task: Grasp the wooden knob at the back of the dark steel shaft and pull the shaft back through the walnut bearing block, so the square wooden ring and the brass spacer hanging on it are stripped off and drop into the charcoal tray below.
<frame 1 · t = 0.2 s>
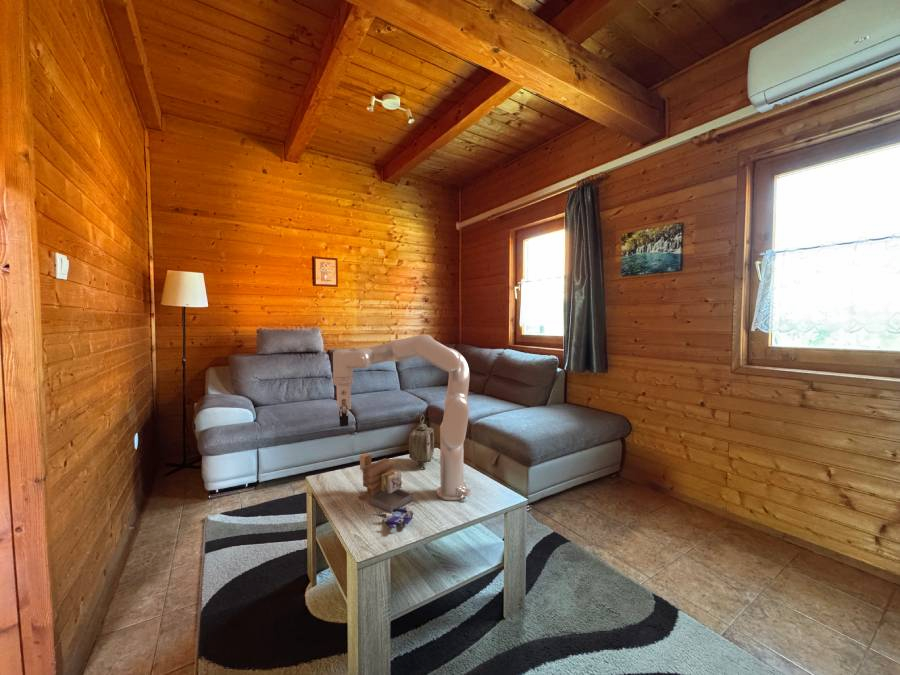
hand: (343, 422, 147), 30 cm above the table, tool pointing down, fingers open, 9 cm apart
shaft: (380, 469, 146), point 12 cm above the table, slide at 0.0 cm, touching brass spacer, square wooden ring
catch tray: (391, 502, 143), on the table
old lantern: (421, 465, 180), on the table
square wooden ring: (394, 489, 142), point 5 cm above the table, touching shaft
bearing block: (379, 496, 148), on the table
brass spacer: (388, 487, 144), point 5 cm above the table, touching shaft
toy airplane: (394, 524, 128), on the table
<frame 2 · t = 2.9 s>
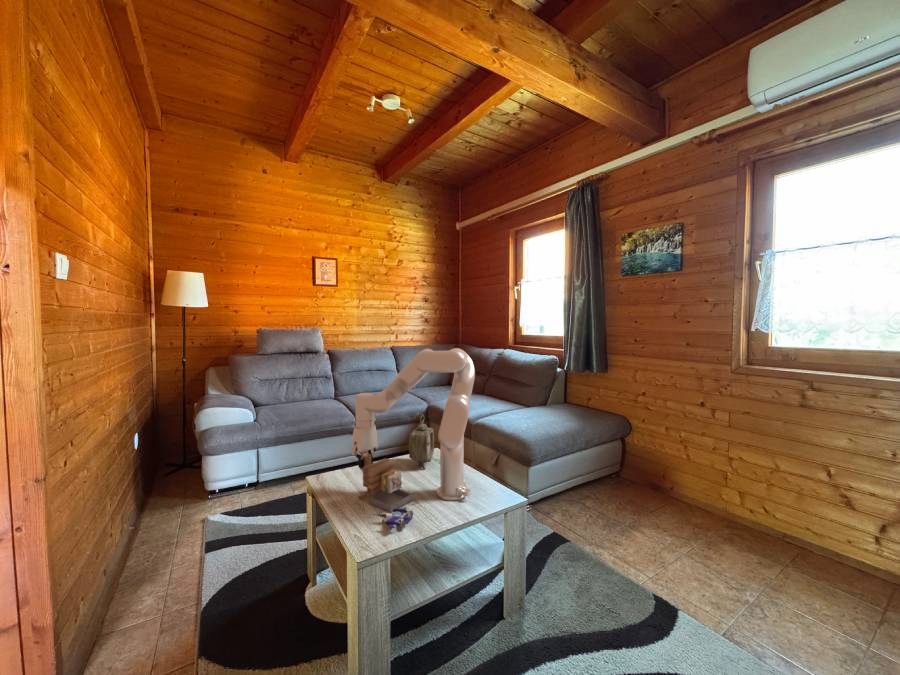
hand: (365, 466, 152), 11 cm above the table, tool pointing down, fingers closed on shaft, 3 cm apart
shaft: (380, 469, 146), point 12 cm above the table, slide at 0.0 cm, touching brass spacer, gripper, square wooden ring
everything else where it was.
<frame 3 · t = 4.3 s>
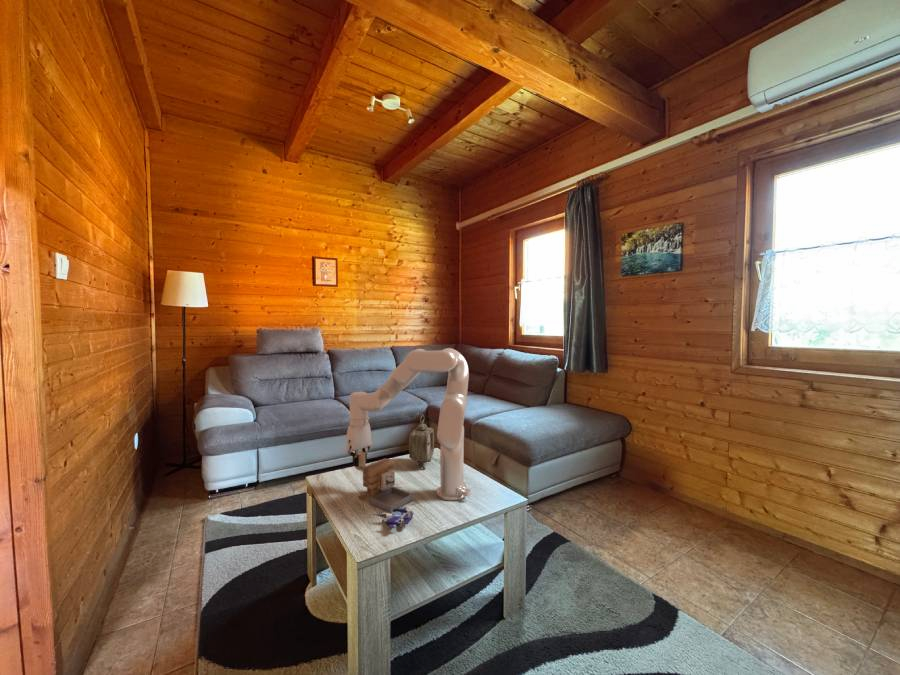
hand: (359, 463, 154), 11 cm above the table, tool pointing down, fingers closed on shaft, 3 cm apart
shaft: (374, 466, 148), point 12 cm above the table, slide at 3.8 cm, touching brass spacer, gripper, square wooden ring
square wooden ring: (387, 487, 144), point 5 cm above the table, touching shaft
brass spacer: (384, 485, 145), point 5 cm above the table, touching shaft
everything else where it was.
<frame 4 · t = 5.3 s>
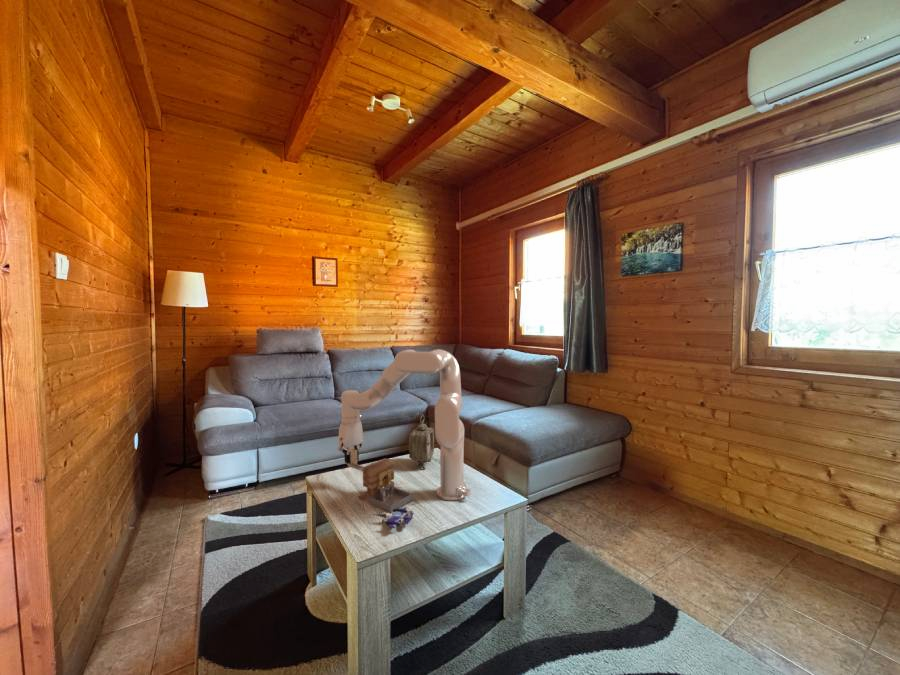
hand: (351, 460, 157), 11 cm above the table, tool pointing down, fingers closed on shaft, 3 cm apart
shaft: (365, 463, 152), point 12 cm above the table, slide at 9.2 cm, touching brass spacer, gripper
square wooden ring: (387, 498, 144), point 1 cm above the table, touching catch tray
everything else where it was.
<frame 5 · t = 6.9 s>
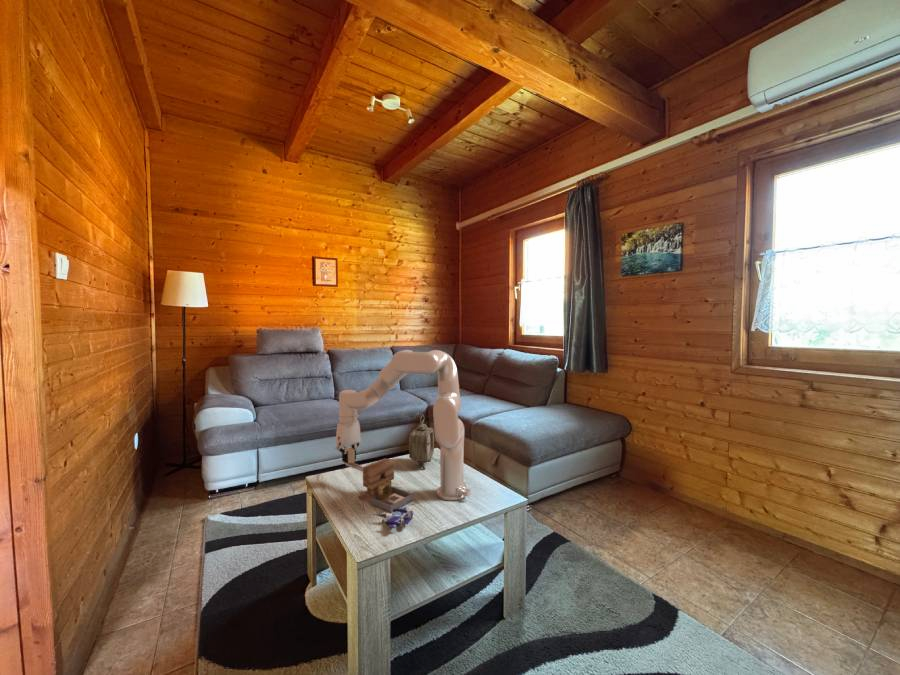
hand: (349, 460, 159), 11 cm above the table, tool pointing down, fingers closed on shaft, 3 cm apart
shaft: (363, 462, 153), point 12 cm above the table, slide at 10.9 cm, touching gripper
square wooden ring: (388, 497, 144), point 1 cm above the table, tilted 90°, touching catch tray
brass spacer: (384, 497, 146), point 1 cm above the table, touching bearing block, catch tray
everything else where it was.
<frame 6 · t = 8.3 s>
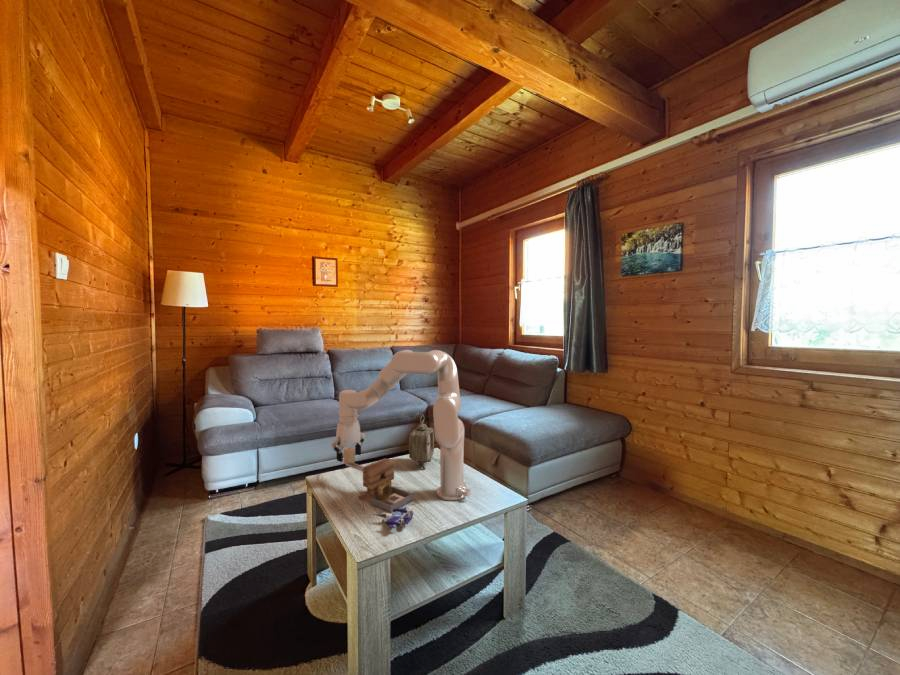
hand: (349, 457, 158), 12 cm above the table, tool pointing down, fingers open, 9 cm apart
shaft: (363, 462, 153), point 12 cm above the table, slide at 10.9 cm
everything else where it was.
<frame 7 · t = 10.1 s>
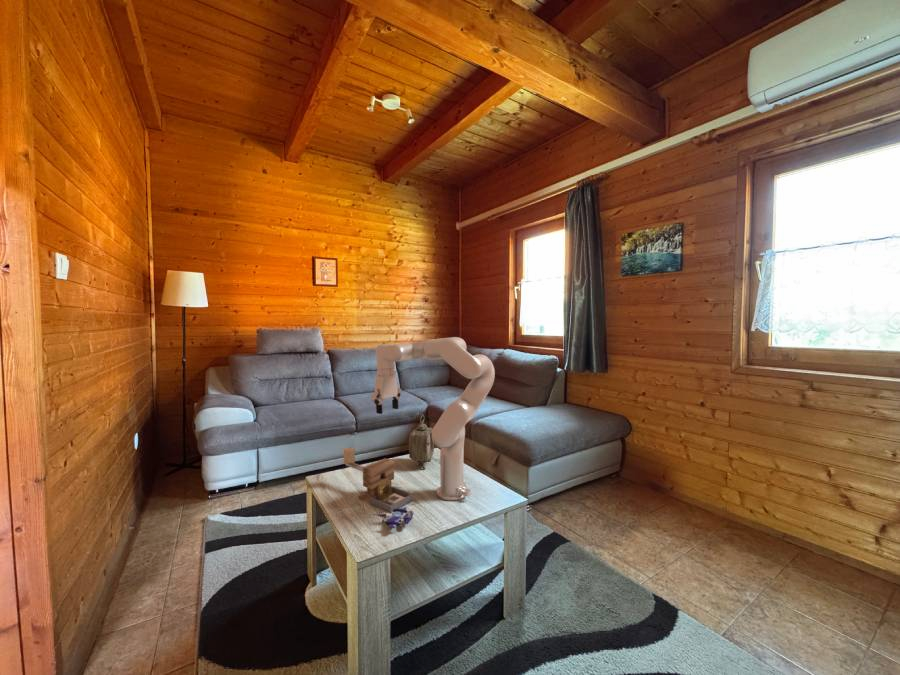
hand: (387, 411, 160), 32 cm above the table, tool pointing down, fingers open, 9 cm apart
nothing on the table moved.
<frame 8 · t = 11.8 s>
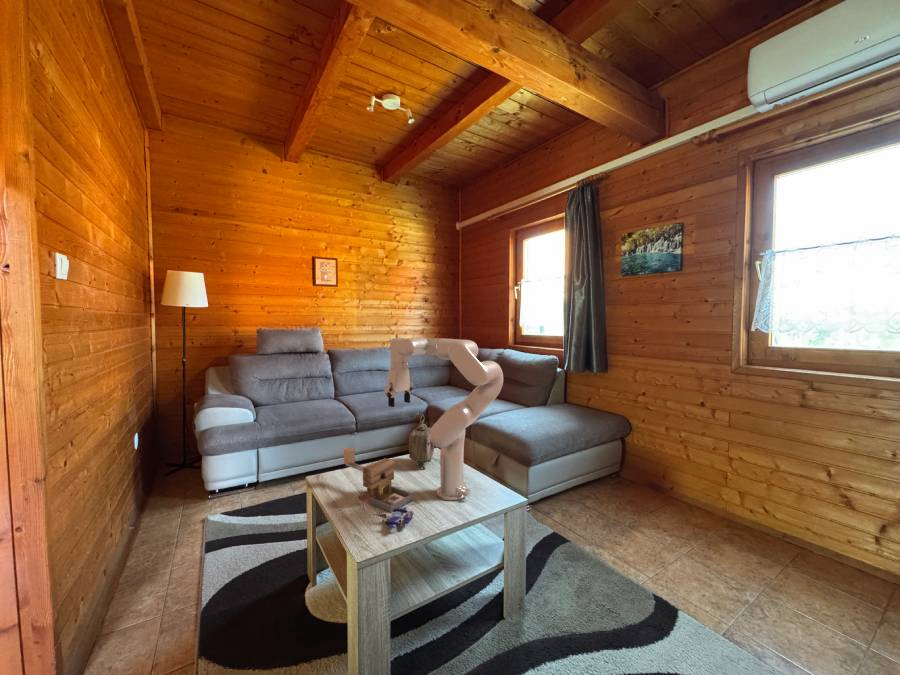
hand: (399, 404, 161), 34 cm above the table, tool pointing down, fingers open, 9 cm apart
nothing on the table moved.
at the end: square wooden ring inside the target area (1.6 cm from its centre), point 1.3 cm above the table; brass spacer inside the target area (4.2 cm from its centre), point 0.6 cm above the table; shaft slide at 10.9 cm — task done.
